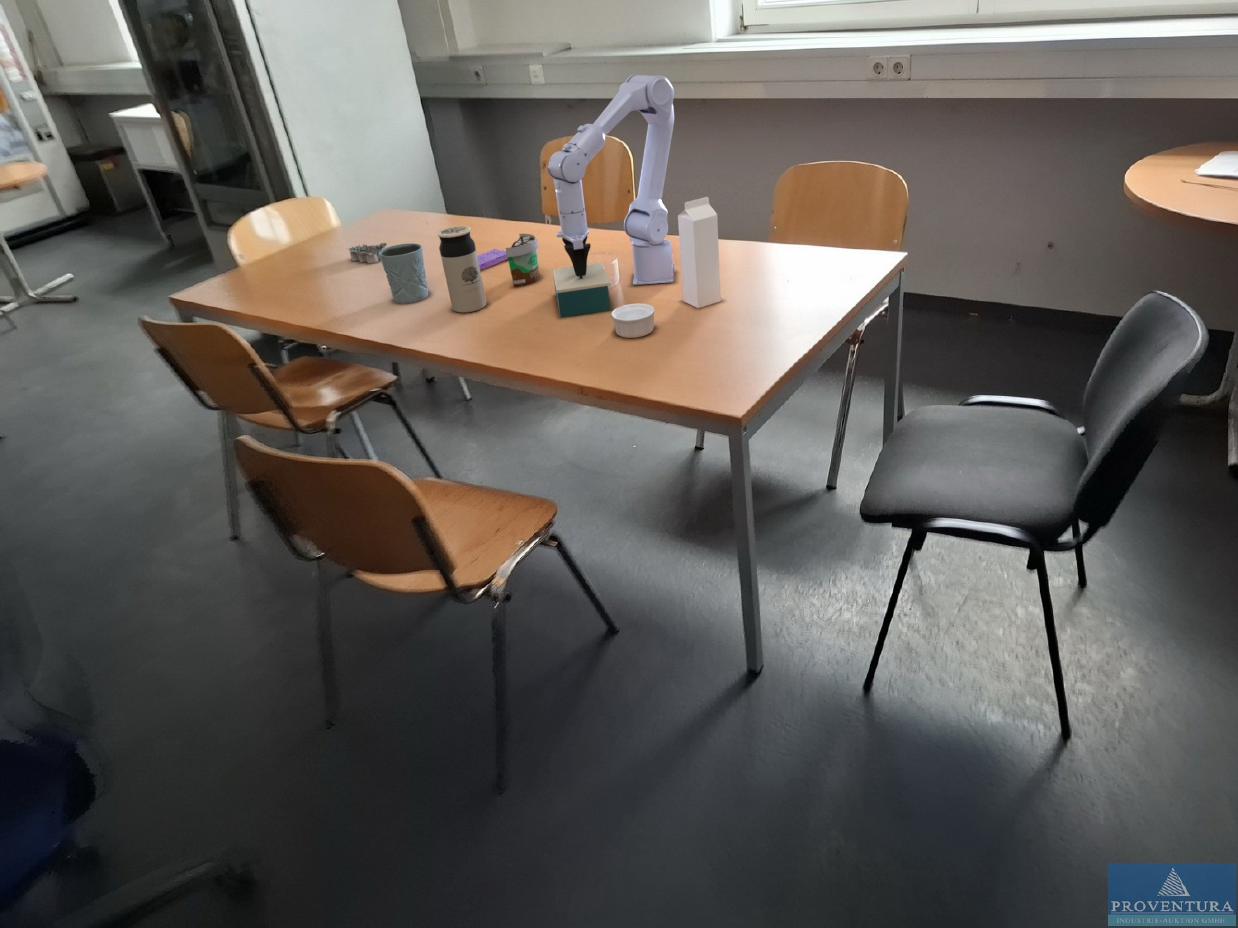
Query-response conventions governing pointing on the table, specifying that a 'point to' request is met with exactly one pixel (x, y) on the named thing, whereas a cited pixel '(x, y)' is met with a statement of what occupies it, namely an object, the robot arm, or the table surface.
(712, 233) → the milk
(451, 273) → the travel mug
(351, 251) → the egg carton
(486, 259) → the sponge
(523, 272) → the food container
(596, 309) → the cool box
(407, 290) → the blue embossed cup
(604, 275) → the lid
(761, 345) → the table surface
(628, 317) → the ramekin
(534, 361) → the table surface
